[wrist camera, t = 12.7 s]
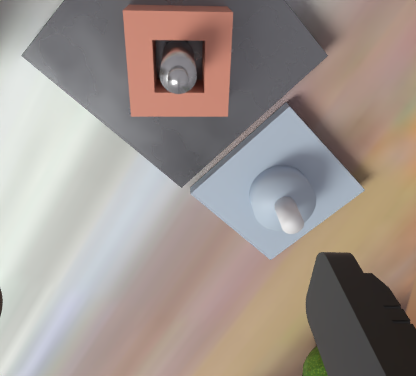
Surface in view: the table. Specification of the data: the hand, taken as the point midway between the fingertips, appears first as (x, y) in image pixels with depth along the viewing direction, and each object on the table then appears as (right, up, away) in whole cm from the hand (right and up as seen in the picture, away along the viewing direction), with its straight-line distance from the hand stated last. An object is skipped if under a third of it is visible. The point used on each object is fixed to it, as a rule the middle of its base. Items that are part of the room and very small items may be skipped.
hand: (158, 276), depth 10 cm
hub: (-1, +11, +17) cm, 20 cm away
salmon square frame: (-1, +11, +16) cm, 19 cm away
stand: (+7, +2, +22) cm, 24 cm away
